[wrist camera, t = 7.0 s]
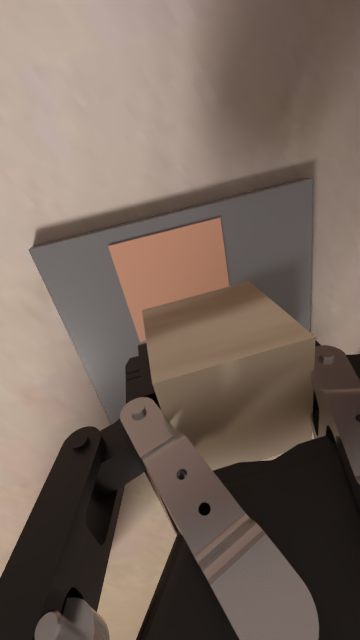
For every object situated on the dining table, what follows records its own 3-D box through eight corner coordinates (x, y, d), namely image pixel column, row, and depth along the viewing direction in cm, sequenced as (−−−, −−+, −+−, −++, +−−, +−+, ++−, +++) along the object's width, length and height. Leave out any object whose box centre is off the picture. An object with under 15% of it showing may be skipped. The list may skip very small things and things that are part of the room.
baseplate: (115, 423, 28) (115, 433, 27) (32, 246, 19) (27, 250, 18) (303, 368, 29) (310, 375, 28) (305, 178, 20) (314, 178, 19)
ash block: (142, 310, 12) (152, 383, 8) (249, 280, 13) (315, 336, 8) (167, 392, 15) (186, 483, 10) (256, 366, 15) (311, 444, 11)
